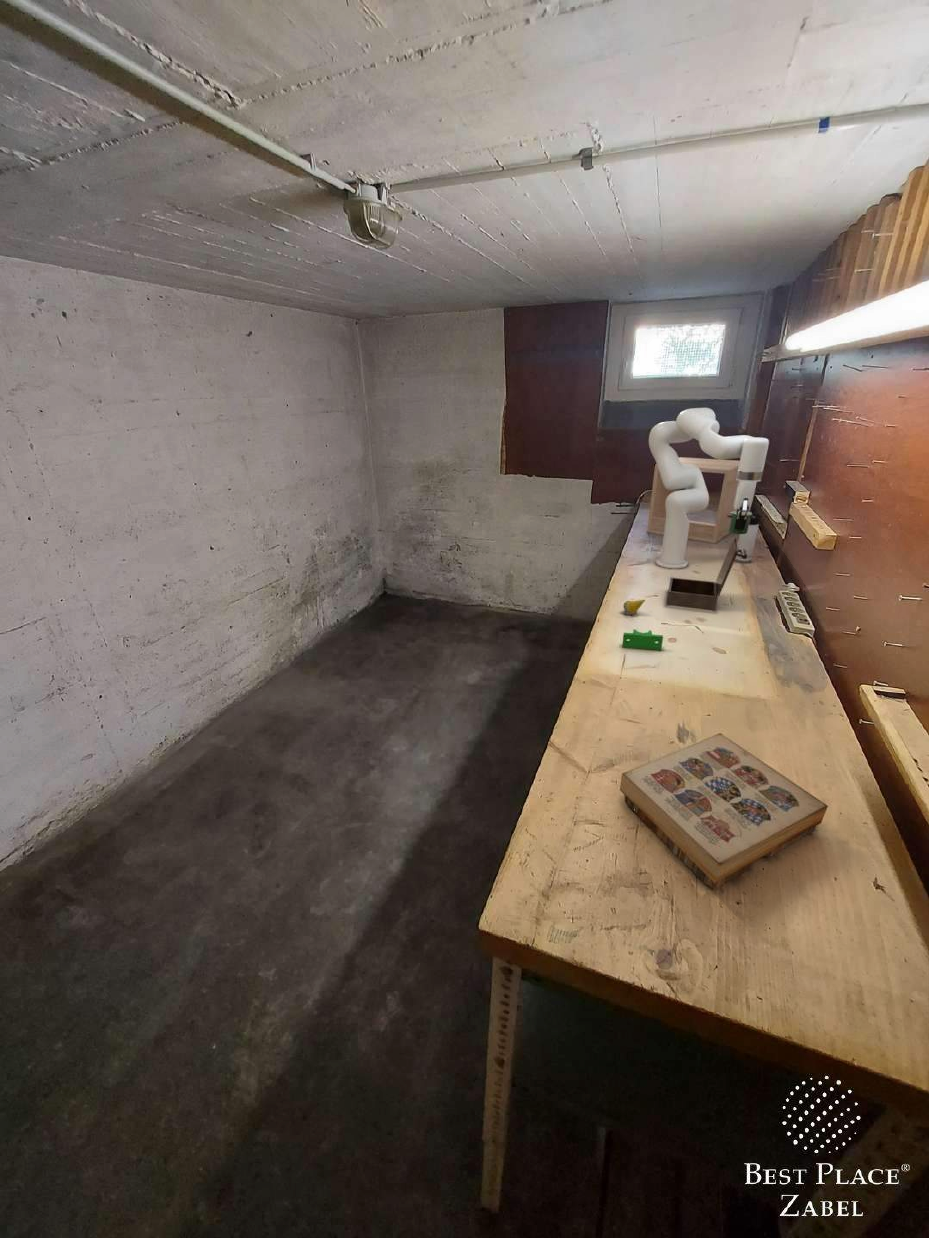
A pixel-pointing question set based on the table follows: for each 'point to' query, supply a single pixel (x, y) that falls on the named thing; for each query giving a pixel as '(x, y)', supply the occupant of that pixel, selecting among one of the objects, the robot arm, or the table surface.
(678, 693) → the table surface
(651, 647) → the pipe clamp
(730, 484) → the storage cube
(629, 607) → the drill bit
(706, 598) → the chest
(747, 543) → the travel mug
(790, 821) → the beige printed box
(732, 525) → the pot
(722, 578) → the chest lid
